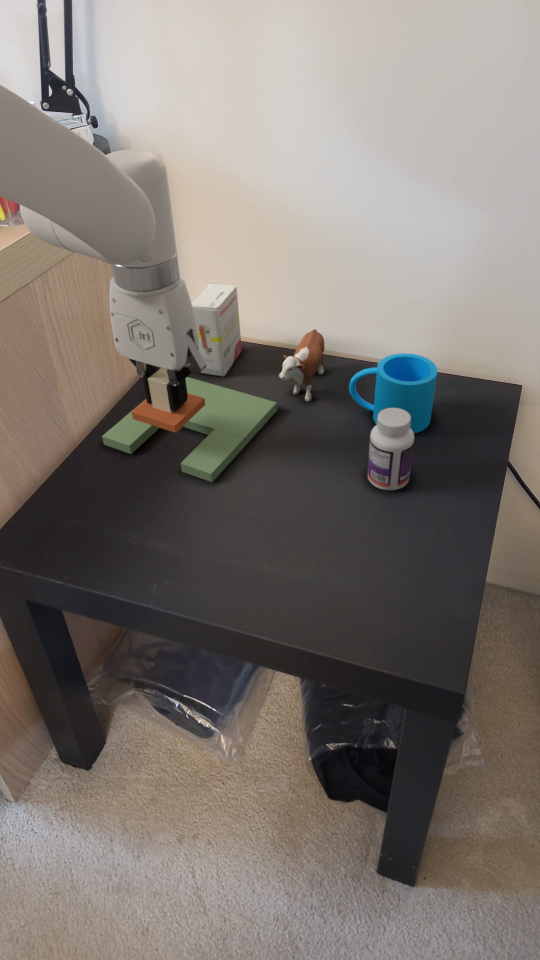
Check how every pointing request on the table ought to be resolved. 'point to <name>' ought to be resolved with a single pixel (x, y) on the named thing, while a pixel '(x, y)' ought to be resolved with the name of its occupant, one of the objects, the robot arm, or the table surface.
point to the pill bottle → (391, 450)
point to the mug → (401, 387)
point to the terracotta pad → (169, 418)
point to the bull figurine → (305, 362)
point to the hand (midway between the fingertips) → (167, 401)
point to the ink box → (218, 327)
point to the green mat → (205, 428)
